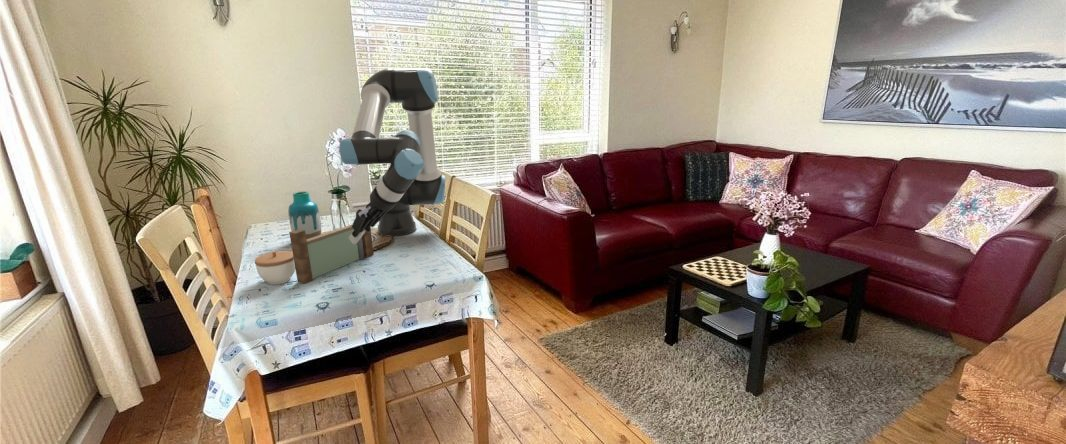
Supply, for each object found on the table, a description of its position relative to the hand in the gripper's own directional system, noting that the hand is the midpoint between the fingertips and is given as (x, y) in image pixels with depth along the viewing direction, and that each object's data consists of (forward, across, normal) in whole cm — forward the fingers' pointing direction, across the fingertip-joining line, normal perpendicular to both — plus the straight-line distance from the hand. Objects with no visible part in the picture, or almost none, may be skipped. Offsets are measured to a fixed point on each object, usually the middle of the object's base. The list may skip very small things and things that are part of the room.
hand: (352, 240), depth 145 cm
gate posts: (+13, 0, +2) cm, 13 cm away
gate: (+13, 0, +2) cm, 13 cm away
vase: (+36, -15, -21) cm, 44 cm away
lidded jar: (+19, +16, -4) cm, 25 cm away
